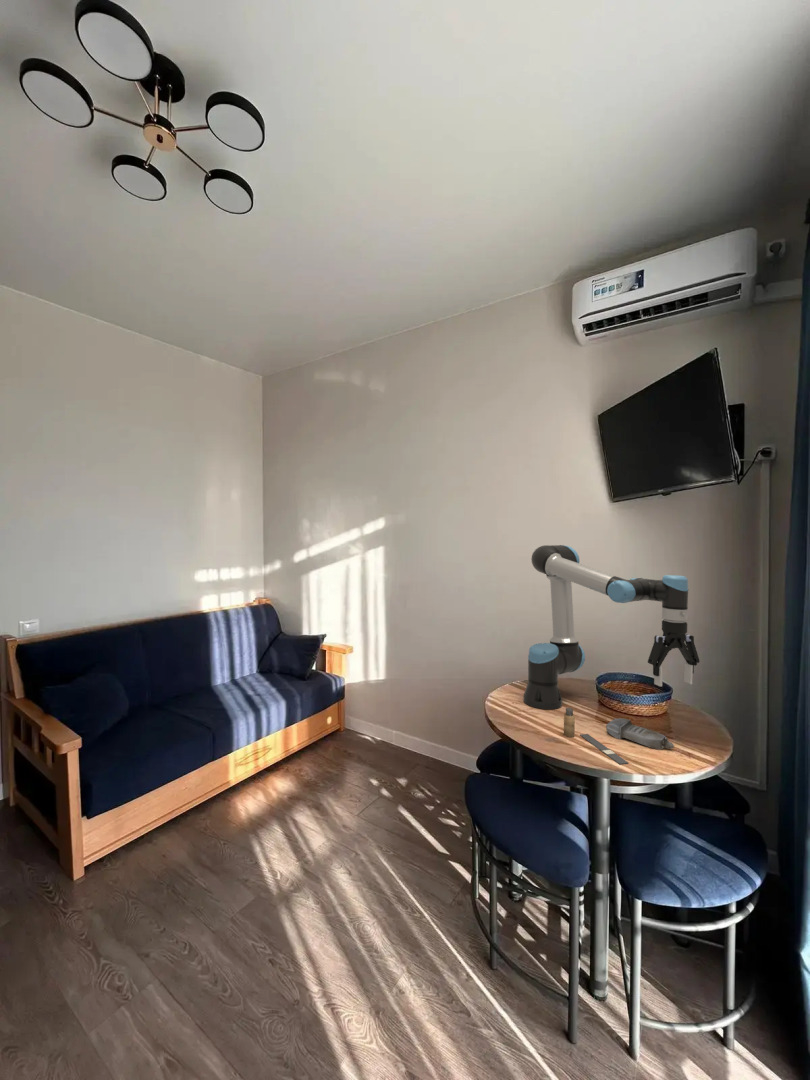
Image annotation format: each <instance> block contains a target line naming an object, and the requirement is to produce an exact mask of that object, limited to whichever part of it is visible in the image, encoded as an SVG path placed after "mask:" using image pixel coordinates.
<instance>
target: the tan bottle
mask: <svg viewBox="0 0 810 1080" xmlns="http://www.w3.org/2000/svg"><path fill="white" fill-rule="evenodd" d="M575 721H576V715H575V714H574V709H573V708H572V707H565V712H564V713H563V736H565V737H567V738H574V737H575V726H576V725H575Z"/></svg>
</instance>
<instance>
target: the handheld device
mask: <svg viewBox="0 0 810 1080" xmlns="http://www.w3.org/2000/svg"><path fill="white" fill-rule="evenodd" d="M606 732H607V733H608V734H609V735H611V736H612V737H613V738H615V739H617V740H622V739H627V740H629V741H632V742H634V743H637V744H639V745H641V746H642V745H643V746H645V747H648V748H651V749H655V750H657V751H662V750H664V749H674V748H675V745H674V744H673V743H672V741H670V740H668V737H667V736H666V735H664V734H663V733H661V732H658V731H655V730H652V729H649V728H645V727H642V726H639V725H636V724H634V723H632V721H631V719H628V718H623V717H621V718H619V717H618V718H614V719H612V720H611V721H610V722H608V723H607V724H606Z"/></svg>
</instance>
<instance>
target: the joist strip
mask: <svg viewBox="0 0 810 1080" xmlns="http://www.w3.org/2000/svg"><path fill="white" fill-rule="evenodd" d="M579 737H582V739H584V740H585V741H587V742H588V743H590V744H591V745H592V746H594V747H595V748H597V750H599V751H600V752H602V753H603V754H605V755H606V756H607V757H609V758H610V759H611V760H613V761H614V762H615V763H617V764H618V765H628V764H629V762H628V761H627V760H625V759H624V758H623V757H621V756H619V755H618V754H617V753H616V752H614V751H613V750H612V749H610V748H608V747H607V746H606V745H604V744H603V743H602V742H600V741H598V740H597V739H596V738H594V737H593V736H592V735H590V734H588V733H583V734H579Z"/></svg>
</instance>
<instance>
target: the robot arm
mask: <svg viewBox="0 0 810 1080" xmlns="http://www.w3.org/2000/svg"><path fill="white" fill-rule="evenodd" d="M530 559H531V564H532V567H533V568H534V569H535V570H536V571H537V572H539V573H542V574H544V575H546V578H547V579H548V580H549V582H550V596H551V597H550V598H551V599H550V601H551V602H550V603H551V617H552V619H551V621H552V637H551V638H550V639H549V643H548V642H543V643H542V642H541V643H534V644H533V645H531V646H530V647H529V649H528V655H527V659H528V661H527V662H528V664H527V665H528V666H527V667H528V668H527V669H528V672H527V673H528V676H527V681H528V682H527V685H526V688H525V690H524V693H523V703H525V704H526V705H527V706H530V707H532V708H535V709H541V710H556V709H560V708H561V707H562V706H563V698H562V695H561V692H560V688H559V685H558V683H559V675H562V674H567V673H573V672H574V673H575V671H578V670H580V669H581V668H583V666H584V664H585V661H586V660H585V659H586V654H585V651H584V649H583V647H582V646H581V645H580V643H579V639H578V638H576V636H575V626H574V625H575V624H574V622H575V621H574V605H573V604H574V603H573V589H572V588H573V587H572V583H574V584H577V585H579V586H582V587H585V588H586V589H590V590H593V591H595V592H598V593H600V594H603V595H605V596H608V598H609V599H611V601H612V602H615V603H621V604H627V603H632V602H642V601H652V602H661V604H662V605H661V606H662V607H661V619H663V620H661V630H662V636H661V635H660V636H659V635H655V636H654V639H653V641H654V642H653V646H652V648H651V651H650V654H649V657H648V659H647V663H648V664H649V665H652V674H653V676H654V677H653V679H654V680H653V684H654V685H656V686H658V687H663V666H662V664H663V662H664V661H665V659H666V657H667V656H668V654H669V653H670V652H671V651H672V650H673V649H674V650H675V649H678V650H679V652H680V653H681V655H682V657H683V659H684V660H685V662H686V663H685V662H684V664H683V665H684V666H683V667H684V668H683V670H684V671H683V675H684V677H683V682H684V683H685V684H688V685H690V686H691V685H693V674H695V670H694V669H695V667H696V666H698V664H699V663H700V657H699V653H698V651H697V647H696V645H695V639H694V638H695V636H693V635H691V634H688V622H687V621H688V605H689V603H688V602H689V601H688V599H689V581H688V578H687V577H686V576H684V575H674V574H666V575H663V576H662V579H648V578H643V577H632V578H630V579H625V578H622V577H619V576H616V575H614V574H611V573H608V572H606V571H605V572H604V571H602V570H599V569H596V568H593V567H591V566H587V565H585V564H582V563H580V556H579V554H578V552H577V551H576V549H574V548H573V547H572V546H569V545H564V544H559V545H557V544H555V545H554V544H553V545H552V544H551V545H550V544H549V545H548V544H547V545H542V546H541V545H540V546H538V547H537V548H536V549H534V551H533V552H532V555H531V558H530Z"/></svg>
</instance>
